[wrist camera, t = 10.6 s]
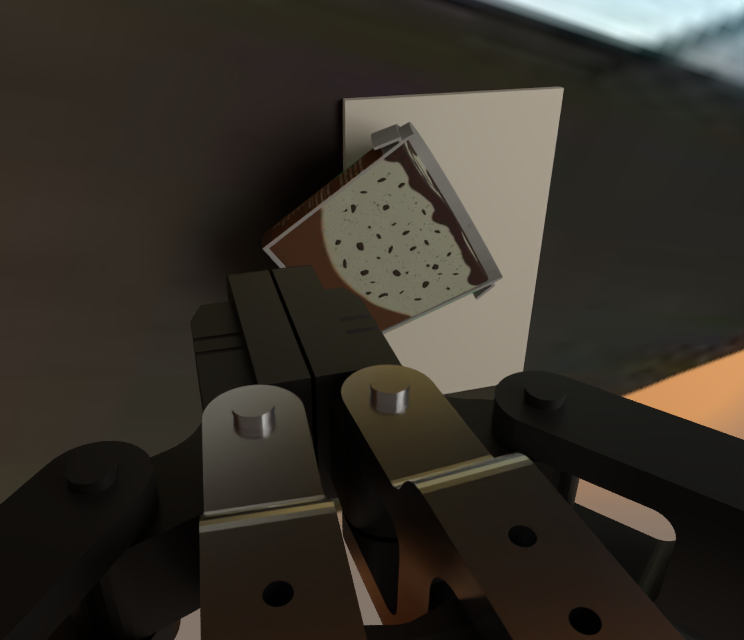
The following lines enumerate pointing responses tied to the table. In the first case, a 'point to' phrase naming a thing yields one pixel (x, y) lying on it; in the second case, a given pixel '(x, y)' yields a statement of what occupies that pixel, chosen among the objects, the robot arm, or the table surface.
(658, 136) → the table surface
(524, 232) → the mat
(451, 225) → the food container
